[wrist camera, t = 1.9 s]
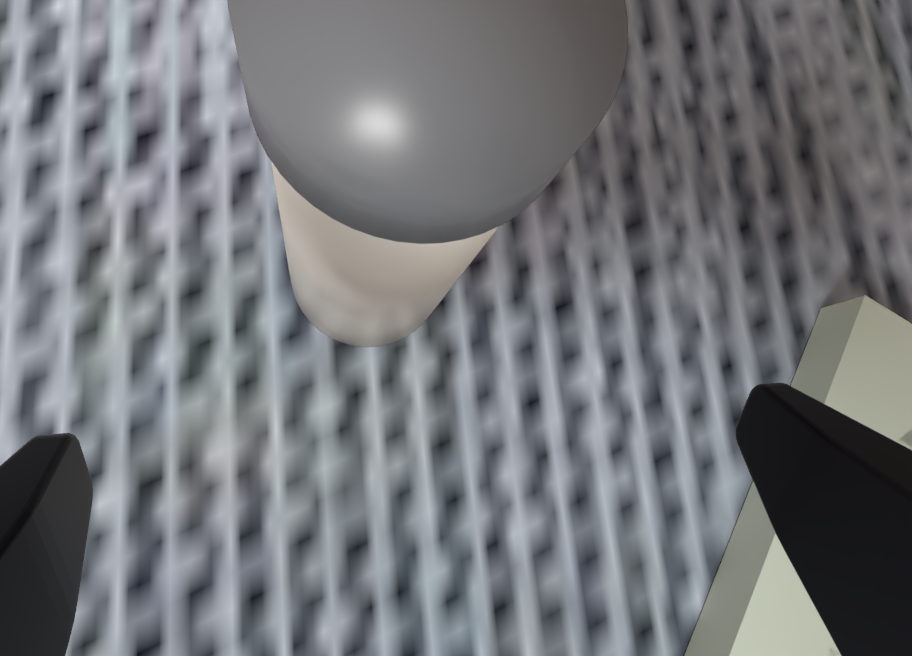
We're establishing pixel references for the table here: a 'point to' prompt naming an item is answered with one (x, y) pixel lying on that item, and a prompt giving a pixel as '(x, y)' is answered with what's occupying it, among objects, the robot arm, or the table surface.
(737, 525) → the socket plate
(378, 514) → the table surface
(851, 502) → the robot arm
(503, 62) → the plug
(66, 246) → the table surface
